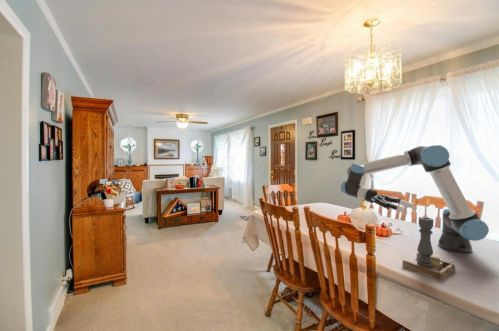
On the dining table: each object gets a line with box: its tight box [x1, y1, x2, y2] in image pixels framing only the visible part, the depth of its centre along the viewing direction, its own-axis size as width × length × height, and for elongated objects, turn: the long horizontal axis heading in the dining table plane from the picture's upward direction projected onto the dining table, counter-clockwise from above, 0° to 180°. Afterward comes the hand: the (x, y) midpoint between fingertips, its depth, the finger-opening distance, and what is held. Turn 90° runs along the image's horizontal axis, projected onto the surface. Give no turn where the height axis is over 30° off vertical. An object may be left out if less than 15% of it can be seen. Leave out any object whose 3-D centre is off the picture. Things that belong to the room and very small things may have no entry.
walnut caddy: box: [402, 252, 456, 281], centre depth 116 cm, size 16×16×3 cm
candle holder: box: [416, 216, 434, 270], centre depth 114 cm, size 6×6×25 cm
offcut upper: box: [430, 253, 441, 265], centre depth 118 cm, size 4×7×3 cm, turn 52°
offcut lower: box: [432, 262, 444, 272], centre depth 118 cm, size 5×8×3 cm, turn 34°
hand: (409, 208), depth 121 cm, fingers open, 13 cm apart
